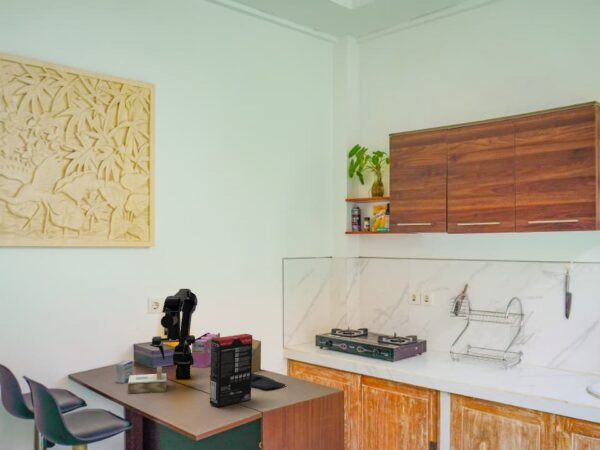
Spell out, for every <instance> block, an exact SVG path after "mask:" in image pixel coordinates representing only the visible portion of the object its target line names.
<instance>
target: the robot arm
mask: <svg viewBox="0 0 600 450" xmlns="http://www.w3.org/2000/svg"><path fill="white" fill-rule="evenodd" d="M198 301H199V300H198V298H197V295H196V294H195V293H194V292H192V290H191V289H189V288H179V289H178V291H177V292H176V293H175V294H174V295H168V296H166V297H165V299H164V301H163V302H164V303H163V307H162V314H163V313H164V316H162V317H161V319H160V325H161V326H162V328H164V329H163V333H164V334H163V336H166V337H164V338H163V337H162V336H161V335H160V336H159V335H158V336H152V338H151V345H152V346H155V347H156V348H158V349H159V351H160V353H161V356H162V359H163V361H165V357H166V356H165V350H164V343H177V345H175V346H174V352H173V353H172V362H173V366H176V367H175V368H174V369H175V372H174V373H175V378H176V380H187V379H189V380H190V379H192V378H191V367H192V365H194V359H193V356H192V344H194V343H195V339H196V336H195V335H194V334H193V335H192V334H191V325H192V324H191V323H192V316H193V314H194V313H195V311H196V309H197V306H198ZM190 334H191V335H190ZM190 346H191V347H190Z"/></svg>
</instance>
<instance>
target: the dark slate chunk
mask: <svg viewBox="0 0 600 450" xmlns="http://www.w3.org/2000/svg"><path fill="white" fill-rule="evenodd" d="M285 385H287V384H285V383H283V382H279V381H276V380H274V379H272V378H270V377H268V376H264V375H261V374H257V373H255V372H253V373H251V386H252V387H251V388H255V389H258V388H260V389H259V390H263V389H268V390H272V388H274V389H280V388H279V387H282V388H284V387H283V386H285ZM285 387H286V386H285Z"/></svg>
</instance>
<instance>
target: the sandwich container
mask: <svg viewBox="0 0 600 450" xmlns="http://www.w3.org/2000/svg"><path fill="white" fill-rule="evenodd" d="M261 365H262V341H261V340H259V339H255V338H252V373H255V372H259V371H261V370H262V369H261V368H262V366H261Z"/></svg>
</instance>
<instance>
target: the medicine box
mask: <svg viewBox="0 0 600 450" xmlns="http://www.w3.org/2000/svg"><path fill="white" fill-rule="evenodd" d="M133 368H134V367H133V360H128V359H127V360H123V361H120V362H117V363H116V364H115V383H116V384H117V383H118V384H126V383H127V382H128V381H129V377H130V375H134V374H133V372H134V371H133Z"/></svg>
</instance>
